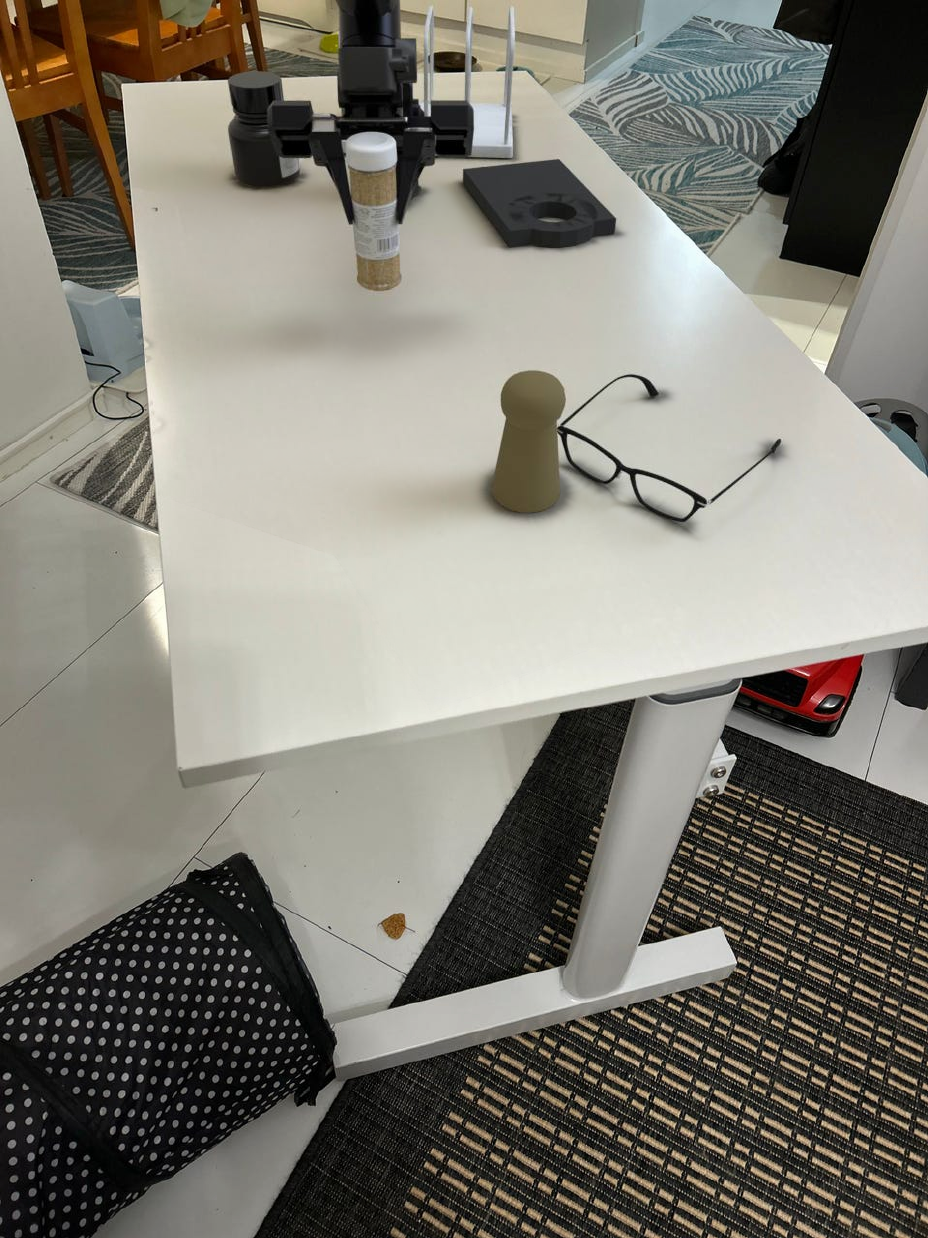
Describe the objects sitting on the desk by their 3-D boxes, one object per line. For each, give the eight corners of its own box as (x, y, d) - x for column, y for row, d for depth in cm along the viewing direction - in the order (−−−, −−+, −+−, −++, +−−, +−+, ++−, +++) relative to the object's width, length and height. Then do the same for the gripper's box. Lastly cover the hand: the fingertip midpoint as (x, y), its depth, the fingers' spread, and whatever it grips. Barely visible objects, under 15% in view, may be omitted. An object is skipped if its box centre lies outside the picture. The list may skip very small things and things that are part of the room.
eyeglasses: (543, 459, 82) (547, 422, 79) (642, 388, 90) (648, 351, 87) (700, 542, 74) (710, 504, 71) (792, 456, 82) (804, 419, 79)
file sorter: (339, 155, 130) (328, 29, 119) (352, 113, 142) (344, -5, 130) (512, 159, 130) (518, 33, 118) (511, 116, 142) (516, -1, 130)
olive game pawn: (512, 520, 76) (520, 409, 68) (479, 480, 79) (482, 370, 71) (573, 500, 78) (587, 389, 70) (537, 461, 81) (547, 352, 73)
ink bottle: (304, 187, 122) (293, 89, 113) (238, 193, 121) (222, 93, 112) (296, 160, 128) (285, 65, 120) (233, 165, 127) (217, 69, 118)
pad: (462, 183, 124) (462, 168, 122) (557, 173, 127) (559, 158, 125) (513, 253, 110) (514, 236, 108) (619, 239, 112) (621, 223, 111)
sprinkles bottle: (394, 268, 92) (387, 126, 82) (407, 289, 89) (402, 145, 79) (351, 275, 91) (339, 132, 81) (363, 296, 88) (352, 151, 78)
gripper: (252, -5, 75) (258, 186, 76) (475, -4, 76) (479, 185, 77) (275, 70, 86) (280, 235, 87) (469, 70, 87) (472, 234, 88)
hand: (375, 222), depth 84 cm, fingers closed on sprinkles bottle, 4 cm apart
